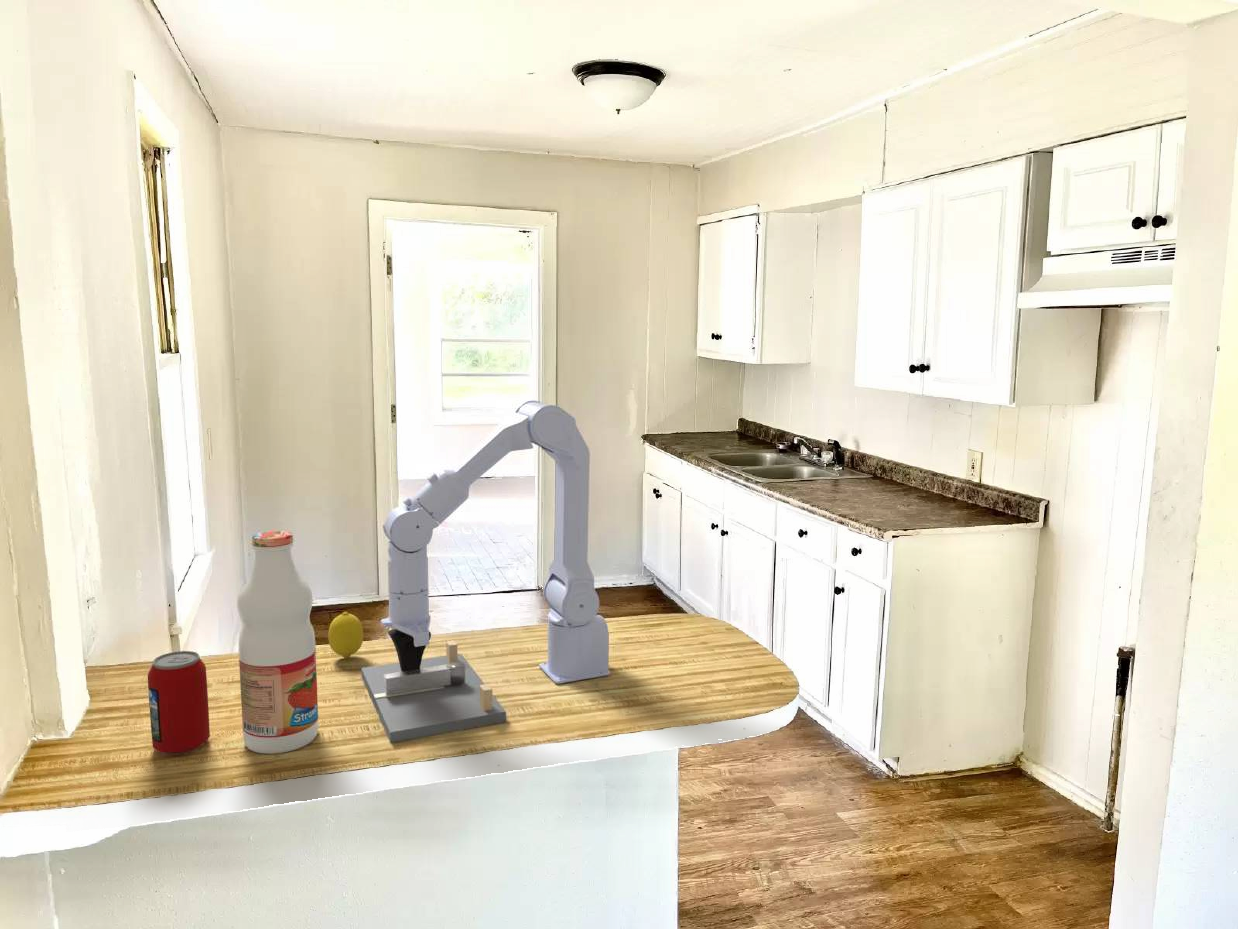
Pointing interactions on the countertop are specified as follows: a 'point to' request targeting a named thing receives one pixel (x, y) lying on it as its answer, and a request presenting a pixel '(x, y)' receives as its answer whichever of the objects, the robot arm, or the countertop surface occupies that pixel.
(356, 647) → the lemon
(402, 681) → the lock bar
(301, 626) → the fruit juice
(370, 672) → the plate
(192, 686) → the beverage can
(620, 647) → the countertop surface
